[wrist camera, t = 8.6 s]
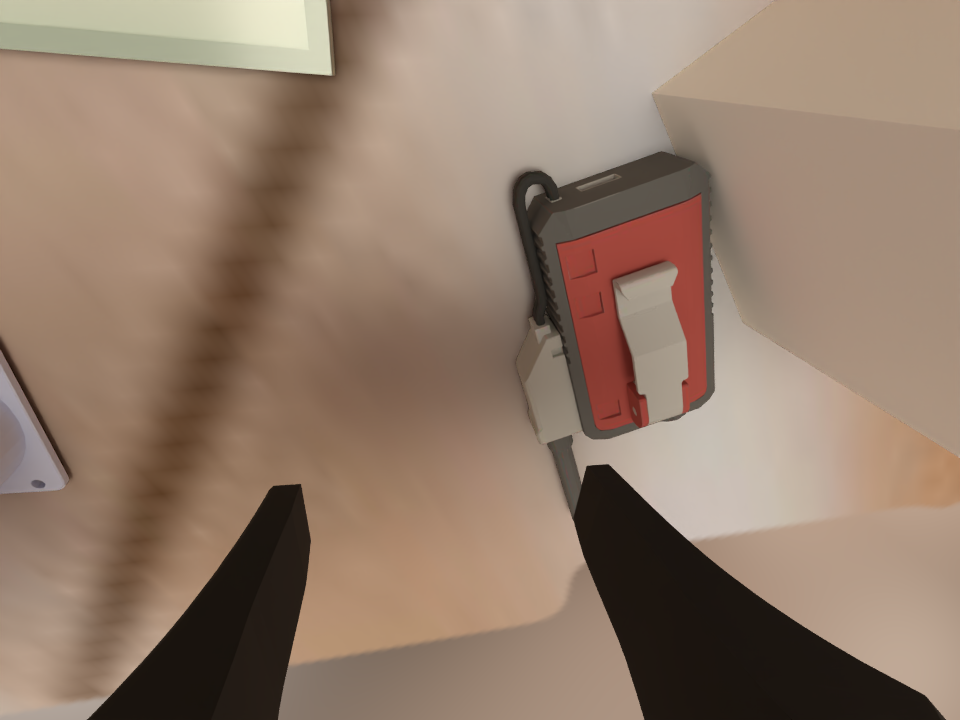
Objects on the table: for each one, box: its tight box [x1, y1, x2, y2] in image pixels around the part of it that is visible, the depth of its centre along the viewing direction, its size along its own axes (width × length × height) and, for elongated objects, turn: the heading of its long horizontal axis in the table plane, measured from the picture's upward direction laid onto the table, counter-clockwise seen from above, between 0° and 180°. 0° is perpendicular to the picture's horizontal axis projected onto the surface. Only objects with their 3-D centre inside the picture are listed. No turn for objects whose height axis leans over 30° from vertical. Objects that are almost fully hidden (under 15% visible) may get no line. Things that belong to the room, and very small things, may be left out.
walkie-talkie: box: [513, 151, 715, 521], centre depth 21 cm, size 9×4×20 cm
